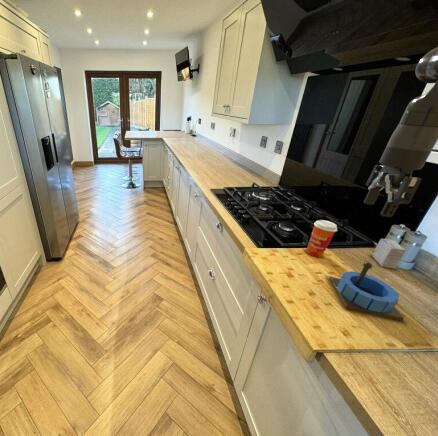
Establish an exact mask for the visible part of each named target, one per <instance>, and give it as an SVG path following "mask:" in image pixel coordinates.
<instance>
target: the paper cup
mask: <svg viewBox="0 0 438 436" xmlns="http://www.w3.org/2000/svg"><path fill="white" fill-rule="evenodd" d="M313 225H314V226H313V228H312V232H311V235H310V238H309V241H308V244H307V246H306V247H307V248H306V253H307V254H308V255H310V256H311V257H314V258H321V257H323V255H324V253H325V252H326V250H327V248H328V246H329V244H330V242H331V241H332V239H333V237H334V235H335V233H336V232H338V225H337V224H336V223H334V222H332V221H329V220H324V219H319V220H316V221H315V222H313Z"/></svg>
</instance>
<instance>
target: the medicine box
mask: <svg viewBox="0 0 438 436" xmlns="http://www.w3.org/2000/svg"><path fill="white" fill-rule="evenodd" d="M406 251H407V250H406V249H405V248H403V246H402V245H400V244H399V243H398V242H397V241H396V240H393V239H388V238H380V239H379V241H378V243H377V245H376V247H375V248H374V250H373V252H372V254H371V256H372V257H373V259H374V260H375V261H376V262H377V263H378V264H379V265H380V266H381V267H382V268H388V269H393V270H394V269H395V270H396V268H397V267H398V264H399V263H400V261H401V260H402V258H403V257H404V254H405V253H406Z"/></svg>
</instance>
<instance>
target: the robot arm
mask: <svg viewBox="0 0 438 436" xmlns="http://www.w3.org/2000/svg"><path fill="white" fill-rule="evenodd" d="M414 71H415V76H416V79H418V81H420V82H422V83H424V84H434V85H433V86H432V87H431V88H430V90H429V91H428V92H426V93H425V94H422V95H419V96H416V97H414V98H413V99H411V101H409V103H408V104H407V106H406V108H405V110H404V112H403V114H402V116H401V117H400V121H399V122H398V124H397V126H396V127H395V130H393V133H392V134H391V136H390V138H389V140H388V142H387V145H386V147H385V149H384V151H383V153H382V155H381V157H380V159H379V161H378V163H379V164H376V165H374V167H373V169H372V171H371V173H370V175H369V177H368V179H367V181H366V182H365V186H366V187H368V188H367V190H368V192H367V193H366V195H365V198H364V200H363V204H365V205H370V206H372V205H375V203H376V201H377V199H378V197H379V196H380V194H381V191H382V190H383V189H385V193H386V194H387V201H385V204H384V206H383V207H382V209H381V211H380V216H382V217H385V218H392V217H393V216H394V215H395V213H396V212H397V210H398V208H399V206H400V205H401V204H406V205H408V204H410V203H411V201H412V199H413V197H414V195H415V193H416V191H417V190H418V188H419V186H420V184H421V182H422V178H421V177H415V176H412V174H413V172H414V171H418V170H422V168H423V167H424V166H425V164H426V162H427V160H428V158H429V156H430V155H431V153H432V152H433V149H434V147H435V146H436V144H437V142H438V46H437V47H435V48H433V49H431V50H430V51H428V52H427V53H426V54H424V56H422V57H421V58H420V60H418V62H417V64H416V66H415V70H414ZM405 194H406V196H405Z"/></svg>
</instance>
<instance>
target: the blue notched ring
mask: <svg viewBox="0 0 438 436" xmlns="http://www.w3.org/2000/svg"><path fill="white" fill-rule="evenodd" d="M360 273H361V272H358V271H344V272H343V273H342V275H341V277H340V278H339V279H340V280H339V282H338V284H337V288H338V290H339V291H340V293H342V295H343V296H344V297H346V298H347V299H348V300H350V301H351V302H352V301H354V302H353V303H354V304H356V305H359V306H361V307H363V308H365V309H366V308H367V309H368V310H372V311H376V312H389V311H392V309H393V308H394V307H396V305H397V303H399V299H400V295H399V293H398V291H396V290H395V289H394V287H391V285H389V284H388V283H386V282H384V281H383V280H381V279H379V278H377V277H374V276H372V275H370V274H367V273H366V275H365V276H364V278H363V280H362V282H361V283H360V285H359V286H360V287H363V288H365V289H368V290H370V291H372V292H373V293H375V294H376V295H378V296H375V295H371V294H369V293H366V292H364V291H362V290H360V289H359V288H357V287H356V286H354V284H355V282H356V280H357V278H358V276H359V275H360Z"/></svg>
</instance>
